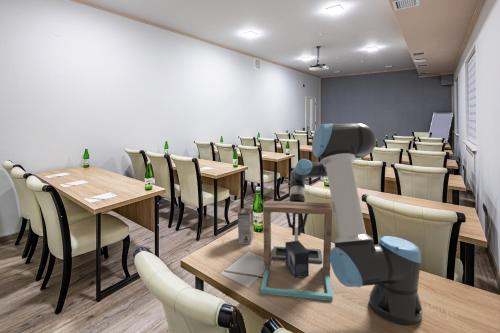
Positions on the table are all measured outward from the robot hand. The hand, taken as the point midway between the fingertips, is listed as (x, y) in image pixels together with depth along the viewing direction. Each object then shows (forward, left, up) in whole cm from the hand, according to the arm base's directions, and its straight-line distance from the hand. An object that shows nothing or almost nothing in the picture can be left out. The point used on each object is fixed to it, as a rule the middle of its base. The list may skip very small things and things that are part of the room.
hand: (296, 241), depth 123 cm
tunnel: (-13, 0, -6) cm, 15 cm away
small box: (-13, 0, -6) cm, 15 cm away
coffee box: (+11, +26, -6) cm, 29 cm away
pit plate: (-1, 0, -6) cm, 6 cm away
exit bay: (-23, 0, -6) cm, 24 cm away
